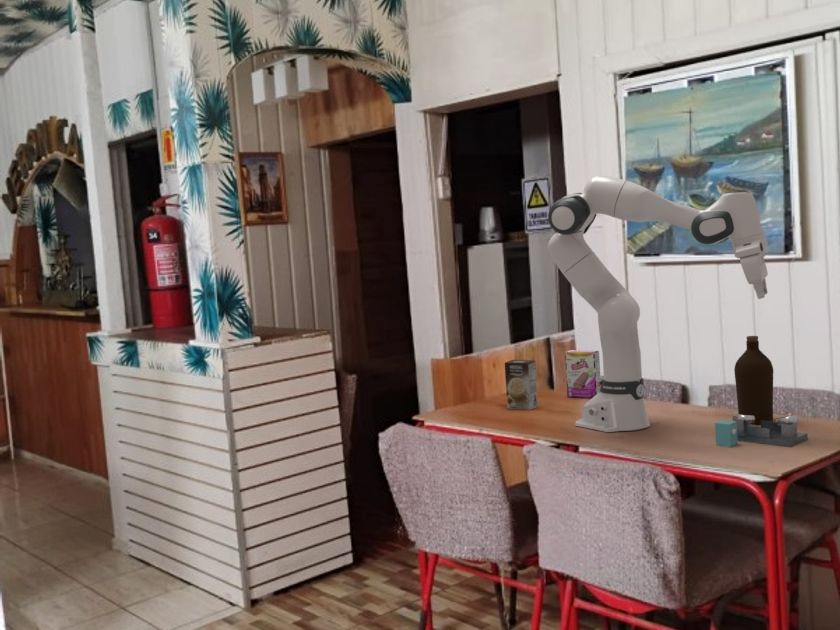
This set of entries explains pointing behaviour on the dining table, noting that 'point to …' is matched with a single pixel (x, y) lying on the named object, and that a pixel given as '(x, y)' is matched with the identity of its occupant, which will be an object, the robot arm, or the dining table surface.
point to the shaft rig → (769, 430)
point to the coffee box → (521, 384)
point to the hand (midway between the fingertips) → (763, 296)
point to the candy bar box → (582, 373)
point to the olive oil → (754, 383)
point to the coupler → (726, 433)
